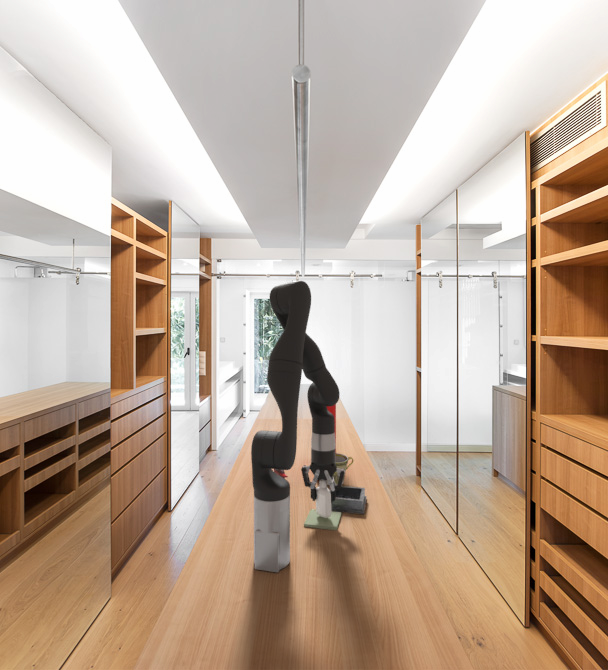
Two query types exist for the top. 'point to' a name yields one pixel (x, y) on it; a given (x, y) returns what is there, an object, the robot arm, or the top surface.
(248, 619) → the top surface
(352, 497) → the socket block
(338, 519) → the rubber mat
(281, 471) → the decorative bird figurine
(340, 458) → the ceramic cup
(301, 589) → the top surface
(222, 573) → the top surface
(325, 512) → the eye dropper bottle
